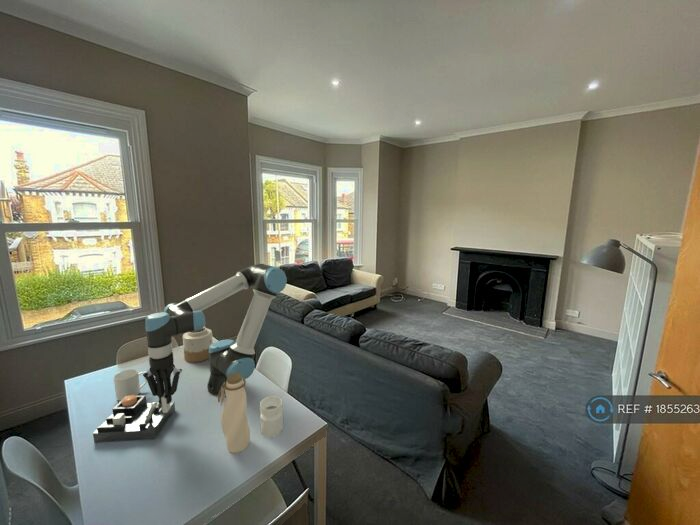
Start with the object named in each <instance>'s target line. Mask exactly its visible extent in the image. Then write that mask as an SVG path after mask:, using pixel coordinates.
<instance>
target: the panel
mask: <svg viewBox="0 0 700 525" xmlns="http://www.w3.org/2000/svg"><path fill="white" fill-rule="evenodd" d="M125 397H127V396H125ZM125 397H124V398H125ZM124 398H123V399H124ZM123 399H122V400H123ZM122 400H121V401H120V400H119V401H118V403H117V404H116V405H115V406H114V407H113V408H112V414H110V416H108V417H106V419H105V421H104V422H103V423H101V425H99V426H97V427H96V430H94V431H93V433H92V435H93V442H94V444H95V443H110V442H111V443H112V442H113V443H116V442H126V441H145V440H147V441H148V440H155V439H156V438H157V436H158V435H159V434H160V432H161V431H162V429H163V428H164V426H165V425H166V424H167V423H168V421H169V420H170V418H171V417H172V415H173V414H174V412H175V411H176V405H175V401H171V402H170V409H169V410H168V412H167V413H163V411H162V405H161V407H160V408H159V407H156V408H155V410H154V413H153V415H152V417H151V419H150V420H149V422H148V423H147V424H146V423H144V422H145V420H146V417H147V415H148V413H149V411H150V408H151V405H152V403H153V402H147V395H146V394H144V395H143V394H142V395H137V403H136V404H135V405H134V406H131V407H123V406H122ZM157 401H158V402H157V404H159V400H157ZM157 406H158V405H157ZM118 413H124V414H125V423H124V425H113V418H114V417H115V416H116V415H117V414H118Z"/></svg>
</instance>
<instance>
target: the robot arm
mask: <svg viewBox="0 0 700 525" xmlns="http://www.w3.org/2000/svg"><path fill="white" fill-rule="evenodd" d="M286 286H287V275H286V273H285V272H284V270H283V269H281V268H279V267H277V266H272V265H268V264H265V263H257V264H253V265H250V266H248V267H247V266H246V267H245V268H244V269H241V270H238V271H237V272H236V274H235V275H234V276H231V277H229V278H228V279H227V278H226V280H224V281H221V282H219V283H217V284H215V285H213V286H211V287H209V288H207V289H205V290H203V291H201V292H199V293H197V294H195V295H193V296H191V297H188V298H186V299H185V300H183V301H182V300H181V302H178V303H177V302H172V303H169V304H167V305H166V306H165V307H164V309H163V311H161V312H155V313H151V314H149V315H148V316H146V317H145V321H144V322H145V328H144V330H145V335H146V342H147V343H146V344H147V352H148V353H147V354H148V361H149V369H147V370H145V371H146V372H145V373H142V376H143V377H144V379H145V378H146V379H147V384H148V387H149V388H150V389H149V390H150V391H151V394H152V396H154V397H156V396H157V397H158V401H159V402H158V403H160V404H162V411H163V413H167V412H168V410H169V409H170V402H173V398H172V396H173V395H174V394H175V393H176V392H177V390H178V385H179V379H180V374H181V373H182V372H183V370H182V369H181V368H179V369H178V368H176V365H175V364H174V362H175V361H174V352H173V351H174V349H173V342H172V341H173V339H172V337H176V336H178V335H179V336H180V335H184V333H187V332H191V331H196V330H198V329H201V328H203V327H205V326H206V317H205V314H204V312H203V311H204V310H206V309H208V308H209V307H211V306H214V305H215V304H217V303H219V302H221V301H223V300H225V299H227V298H228V297H230V296H232V295H234V294H236V293H238V292H240V291H242V290H248V289H251V288H252V291H253V296H252V299H251V301H250V304H249V307H248V309H247V312H246V314H245V317H244V319H243V322H242V325H241V327H240V330H239V331H238V334H237V337H236V339H235V340H233V339H221V340H218V341H215V342H213V344H211V345H210V347H209V359H208V360H209V371H210V373H209V374H210V375H209V378H208V382H207V387H206V388H207V392H208V393H209V394H211V395H214V396H218V394H219V391H220V389H221V387H222V385H223V383H224V382H225V383H226V382H227V377H228V376H229V375H230V374H233V373H240V374H241V375H242V378H243V379H245V380H247V379H249V378H250V377H251V376H252V375H253V373H254V372H255V369H256V363H255V360H254V357H255V354H256V352H255V349H254V347H255V346H256V343H257V340H258V337H259V336H260V335H259V334H260V331H261V329H262V327H263V323H264V321H265V319H266V316H267V314H268V310H269V309H270V308H269V307H270V305H271V303H272V300H274V299H276V298H277V296H278V294H279V293H281V292H282V291H284V289H285V288H286ZM172 374H173V377H172ZM171 377H172V380H171ZM164 389H165V390H164ZM164 393H165V394H164ZM224 395H225V389H224ZM220 396H221V393H220Z"/></svg>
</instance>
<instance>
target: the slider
mask: <svg viewBox="0 0 700 525" xmlns="http://www.w3.org/2000/svg"><path fill="white" fill-rule="evenodd" d="M124 423H125V414H124V413H118V414H117V415H116V416H115V417H114V418H113V425H124Z"/></svg>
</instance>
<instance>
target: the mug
mask: <svg viewBox="0 0 700 525" xmlns="http://www.w3.org/2000/svg"><path fill="white" fill-rule="evenodd" d="M146 371H147V370H145V371H140V372H139V370H138V369H134V368H130V369H129V368H128V369H125V370H121V371H120V372H117V373H116V374H114V376H113V384H114V391H115V398H116V399H117V400H118V401H119V402H120V401H121V400H122V399H123V398H124V397H125V396H131V395H136V396H139V394H140V392H141V389H142V388H143V387H144V386H145V385H146V384H148V382H147V379H146V378H145V377H144V379H145V380H144V382H143V383H142V384H141V385H140V377H139V376H140V375H143V374H144V373H145V372H146Z"/></svg>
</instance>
